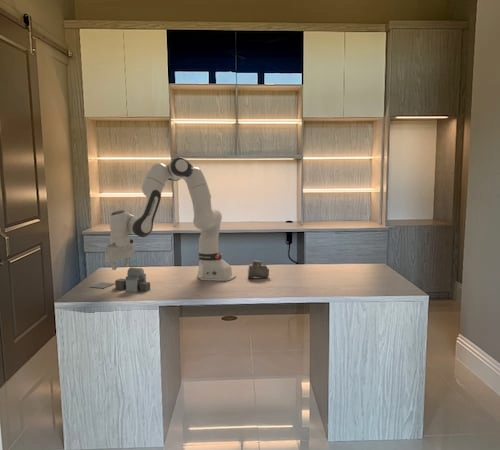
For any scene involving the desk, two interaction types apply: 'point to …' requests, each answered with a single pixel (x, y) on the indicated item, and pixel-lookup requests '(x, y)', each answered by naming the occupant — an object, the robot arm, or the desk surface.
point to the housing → (134, 278)
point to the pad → (102, 285)
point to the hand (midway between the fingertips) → (120, 267)
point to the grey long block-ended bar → (141, 286)
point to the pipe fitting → (258, 270)
